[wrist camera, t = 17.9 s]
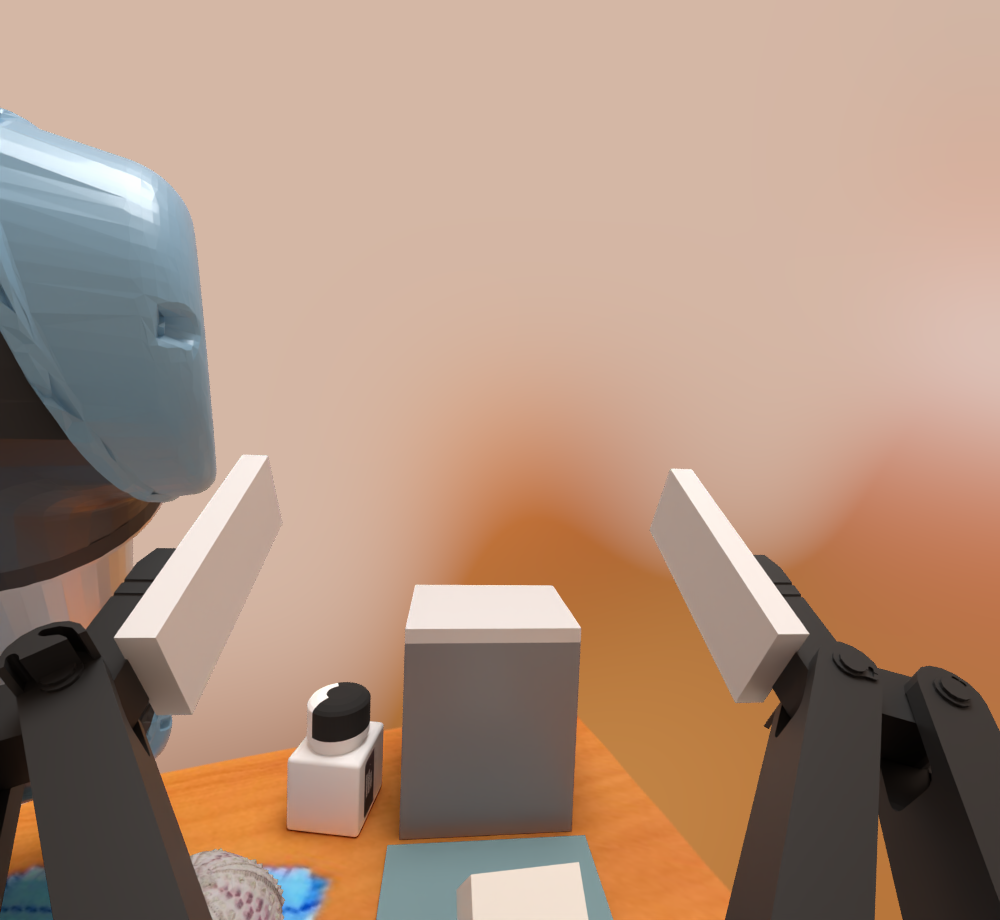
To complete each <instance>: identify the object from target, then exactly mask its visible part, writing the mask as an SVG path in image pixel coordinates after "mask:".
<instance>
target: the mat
mask: <svg viewBox="0 0 1000 920" xmlns="http://www.w3.org/2000/svg"><path fill="white" fill-rule="evenodd" d="M575 862H579V865H580V871H581V877H582V884H583V890H584V896H585V902H586V908H587V914H588V920H613V918H612V915H611V912H610V909H609V906H608V903H607V900H606V897H605V894H604V891H603V888H602V885H601V882H600V879H599V876H598V873H597V870H596V867H595V864H594V861H593V858H592V855H591V852H590V849H589V846H588V843H587V840H586V837H585V835H580V836H560V837H540V838H520V839H501V840H481V841H461V842H441V843H422V844H402V845H388V846H387V852H386V859H385V865H384V872H383V879H382V885H381V892H380V898H379V905H378V912H377V918H376V920H457V896H456V890H457V889H458V888H459V887H460V885H461V884H462V883H463V882H464V881H465V880H466V879H467V878H468V877H469V876H470V875H471V874H480V873H489V872H497V871H506V870H515V869H523V868H532V867H541V866H549V865H558V864H567V863H575Z"/></svg>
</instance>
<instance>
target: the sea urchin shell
mask: <svg viewBox="0 0 1000 920" xmlns="http://www.w3.org/2000/svg"><path fill="white" fill-rule="evenodd" d="M190 858H191V861H192V864H193V867H194V869H195V872H196V875H197V878H198V881H199V883H200V886H201V889H202V892H203V894H204V897H205V900H206V903H207V906H208V908H209V911H210V914H211V917H212V919H213V920H283V919H284V916H283V915H282V906H283V904H284V901H285V899H284V898H283V897H282V893H283V890H282V889H281V886H280V885H277V883H278V879H274V878H273V875H270V874H268V870H265V869H263V866H262V864H257V863H256V859H255V860H249V859H248V858H245V857H242V856H239V855H236V854H233V853H229V852H226V851H223V850H222V849H221V848H220V849H219V850H217V849H214V850H212V851H205V852H200V853H197V854H194V855H192V856H190Z"/></svg>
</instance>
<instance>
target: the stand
mask: <svg viewBox="0 0 1000 920" xmlns="http://www.w3.org/2000/svg"><path fill="white" fill-rule="evenodd" d="M580 642H581V627H580V626H579V624H578V623H577V622H576V620H575V618H574V617H573V615H572V614H571V612H570V611H569V609H568V608H567V606H566V605H565V604H564V602H563V600H562V599H561V597H560V596H559V595H558V593H557V591H556V590H555V588H554V587H553V586H525V585H523V586H522V585H519V586H516V585H415V589H414V593H413V598H412V602H411V607H410V611H409V615H408V620H407V624H406V629H405V658H404V659H405V660H404V692H403V695H404V696H403V727H402V761H401V796H400V830H399V840H403V839H423V838H443V837H463V836H484V835H504V834H524V833H544V832H564V831H571V829H572V808H573V788H574V767H575V746H576V726H577V705H578V704H577V703H578V683H579V664H580Z"/></svg>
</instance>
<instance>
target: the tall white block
mask: <svg viewBox="0 0 1000 920" xmlns="http://www.w3.org/2000/svg"><path fill="white" fill-rule="evenodd" d="M456 896H457V920H588V914H587V908H586V902H585V896H584V890H583V884H582V877H581V871H580V865H579V862H575V863H567V864H558V865H549V866H541V867H532V868H523V869H515V870H506V871H497V872H489V873H480V874H471V875H470V876H469V877H468V878H467V879H466V880H465V881H464V882H463V883H462V884H461V885H460V887H459V888H458V889H457V890H456Z"/></svg>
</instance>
